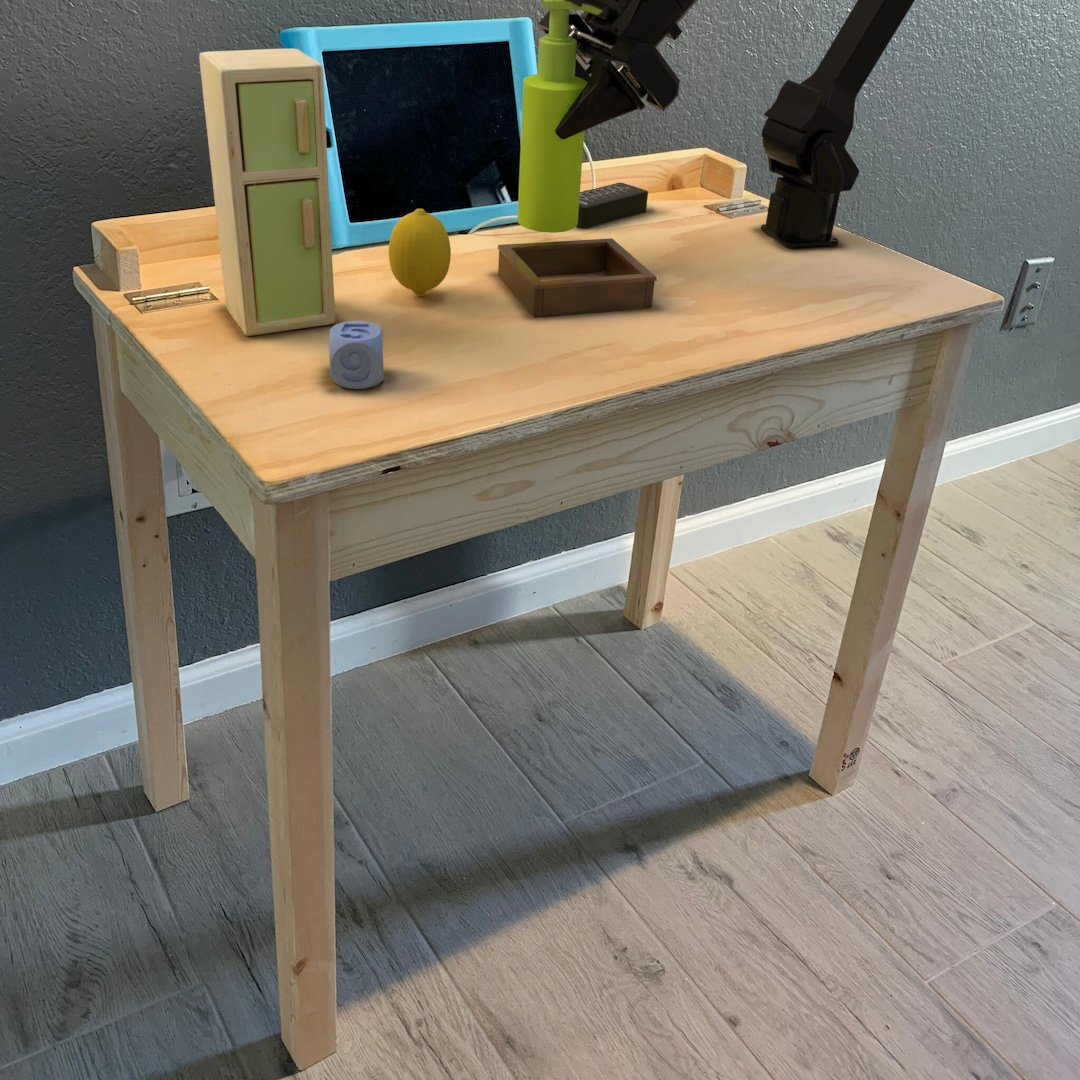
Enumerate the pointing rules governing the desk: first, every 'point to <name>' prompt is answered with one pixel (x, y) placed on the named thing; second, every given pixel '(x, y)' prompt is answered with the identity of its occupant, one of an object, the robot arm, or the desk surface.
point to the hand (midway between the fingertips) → (544, 127)
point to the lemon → (419, 252)
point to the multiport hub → (610, 204)
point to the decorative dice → (356, 354)
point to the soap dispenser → (551, 130)
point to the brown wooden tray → (581, 295)
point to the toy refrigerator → (270, 186)
